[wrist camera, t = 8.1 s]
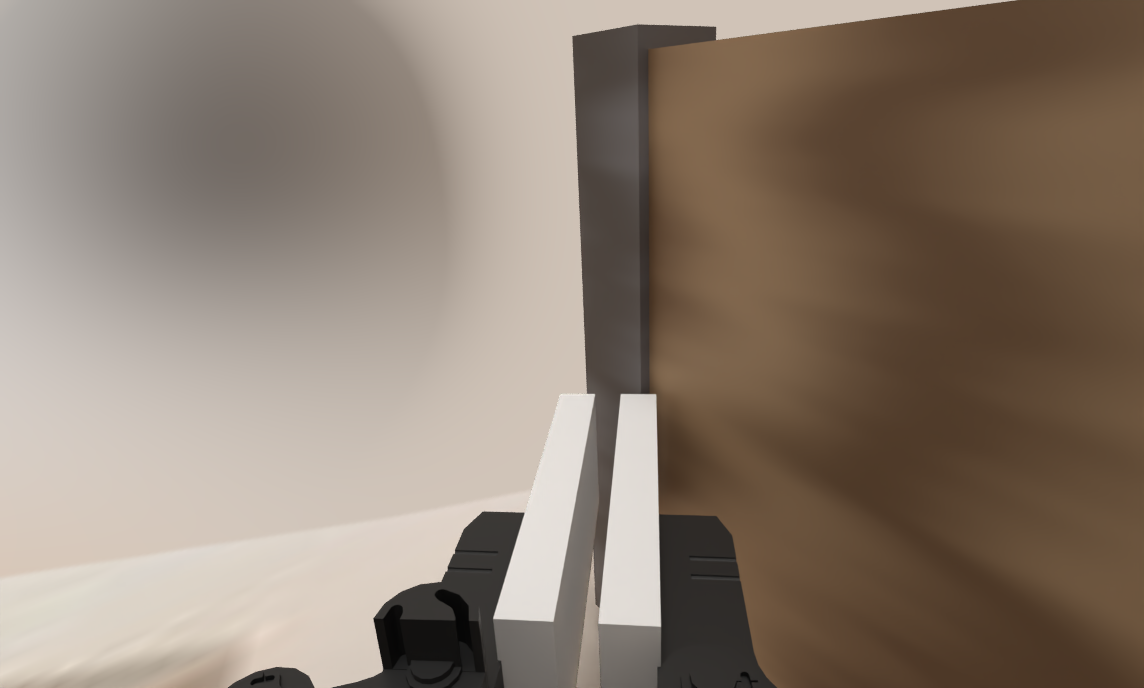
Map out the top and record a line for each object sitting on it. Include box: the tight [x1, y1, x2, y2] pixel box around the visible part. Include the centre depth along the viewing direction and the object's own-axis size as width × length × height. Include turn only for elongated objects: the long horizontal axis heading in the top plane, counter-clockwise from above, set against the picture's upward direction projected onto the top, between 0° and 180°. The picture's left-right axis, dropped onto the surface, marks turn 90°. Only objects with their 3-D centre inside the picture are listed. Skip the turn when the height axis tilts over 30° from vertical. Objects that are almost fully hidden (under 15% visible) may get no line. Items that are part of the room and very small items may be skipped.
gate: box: [573, 0, 1144, 688], centre depth 11 cm, size 14×2×14 cm, turn 35°
